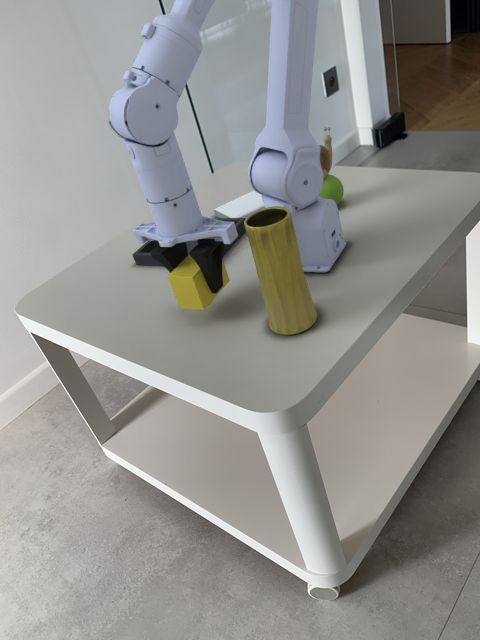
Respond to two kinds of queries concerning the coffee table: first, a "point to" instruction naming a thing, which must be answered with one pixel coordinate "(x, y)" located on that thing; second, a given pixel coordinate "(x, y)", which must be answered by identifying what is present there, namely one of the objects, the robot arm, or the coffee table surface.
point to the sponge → (193, 285)
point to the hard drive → (241, 206)
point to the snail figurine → (330, 183)
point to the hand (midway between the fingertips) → (203, 288)
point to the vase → (280, 270)
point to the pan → (145, 258)
